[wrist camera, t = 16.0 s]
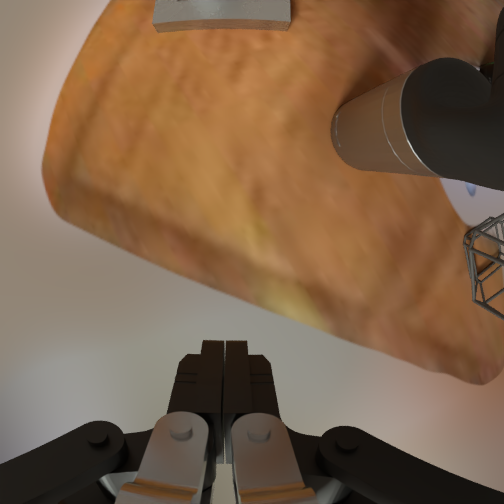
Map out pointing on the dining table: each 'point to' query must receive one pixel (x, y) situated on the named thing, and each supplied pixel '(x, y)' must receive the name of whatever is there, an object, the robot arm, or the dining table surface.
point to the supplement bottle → (487, 71)
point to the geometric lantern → (472, 260)
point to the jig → (221, 15)
